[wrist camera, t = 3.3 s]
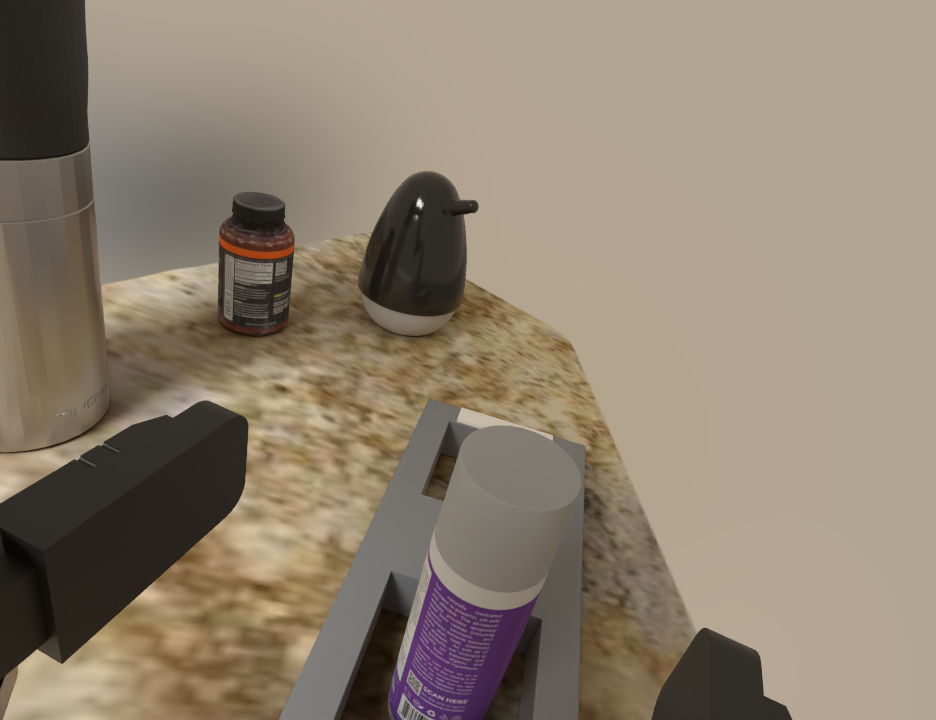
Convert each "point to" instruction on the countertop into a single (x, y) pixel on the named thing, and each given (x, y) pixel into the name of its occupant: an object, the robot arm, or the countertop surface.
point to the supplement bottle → (255, 265)
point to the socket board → (399, 570)
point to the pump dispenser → (417, 257)
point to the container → (482, 572)
